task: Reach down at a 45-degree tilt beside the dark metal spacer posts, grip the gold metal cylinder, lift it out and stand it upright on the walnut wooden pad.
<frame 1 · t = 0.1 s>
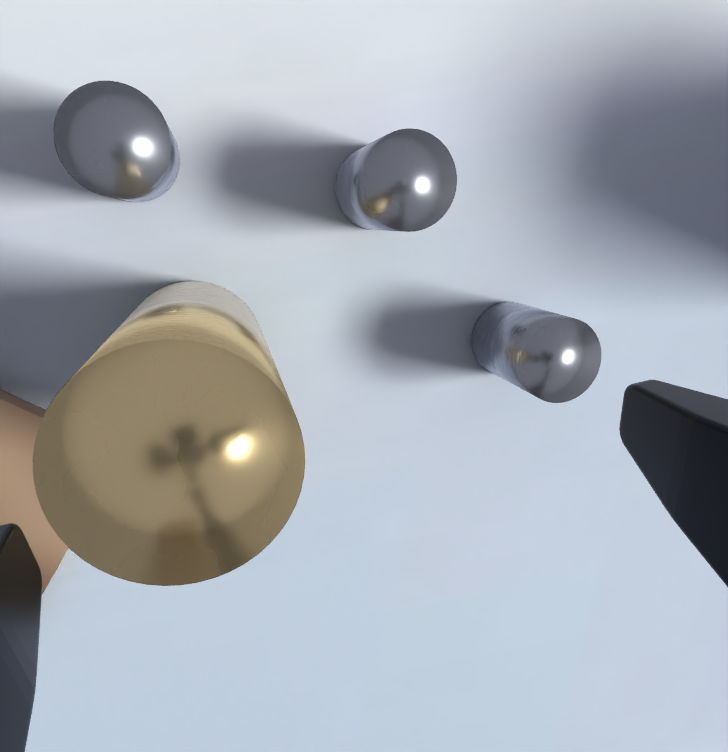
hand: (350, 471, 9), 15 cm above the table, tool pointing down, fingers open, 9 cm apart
gold metal cylinder: (195, 348, 24), on the table
spacer posts: (195, 349, 24), on the table
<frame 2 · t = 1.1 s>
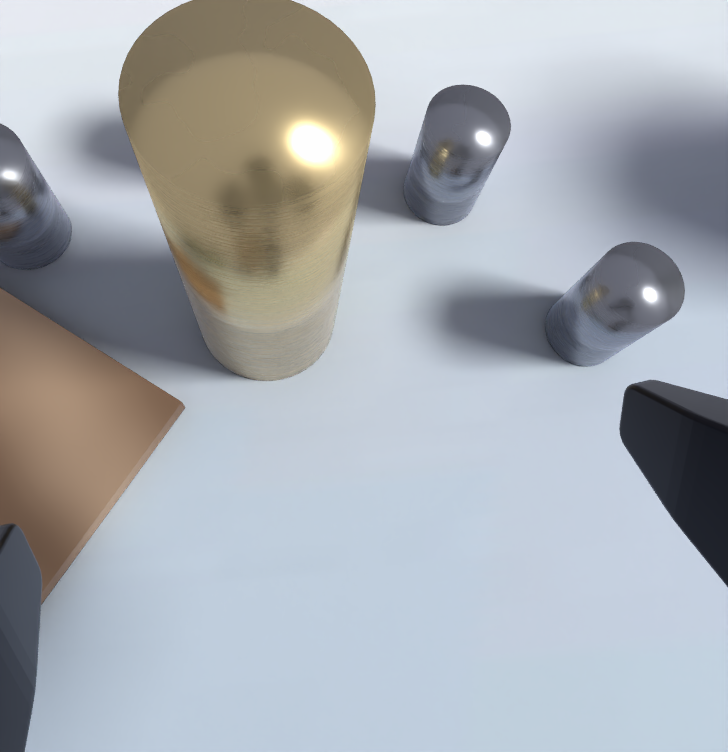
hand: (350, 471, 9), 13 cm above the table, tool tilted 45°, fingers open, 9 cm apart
gold metal cylinder: (267, 317, 24), on the table
spacer posts: (267, 316, 24), on the table
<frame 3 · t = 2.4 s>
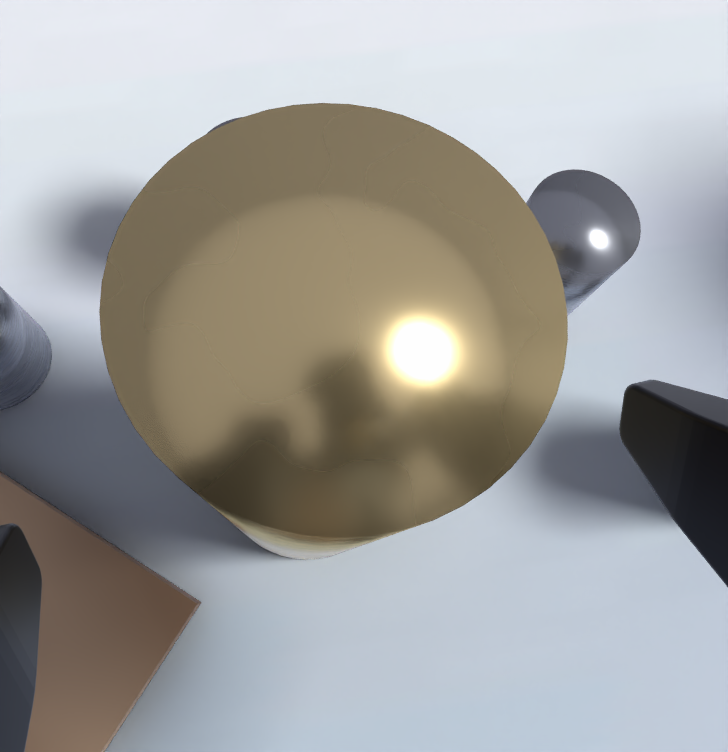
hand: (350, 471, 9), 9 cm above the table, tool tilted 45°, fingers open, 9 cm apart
gold metal cylinder: (309, 468, 18), on the table
spacer posts: (309, 468, 18), on the table
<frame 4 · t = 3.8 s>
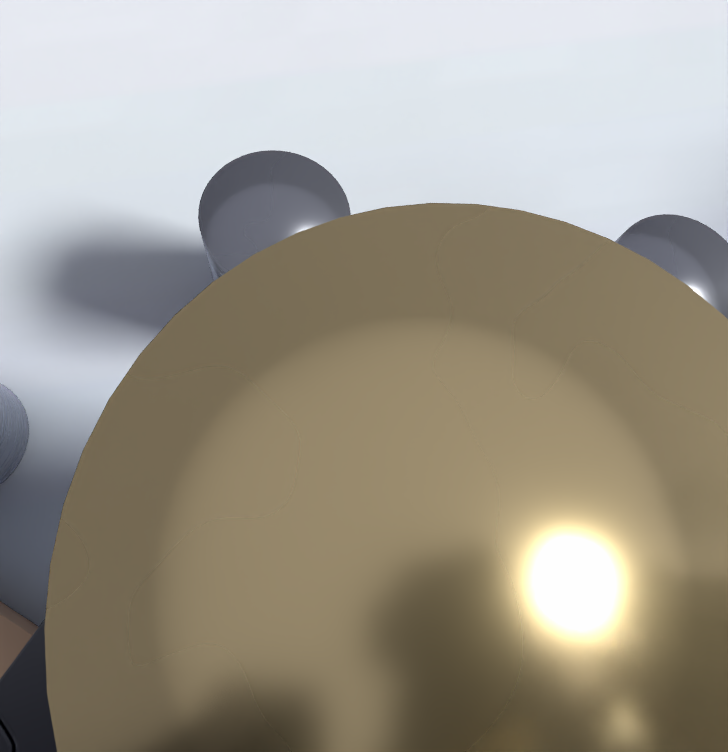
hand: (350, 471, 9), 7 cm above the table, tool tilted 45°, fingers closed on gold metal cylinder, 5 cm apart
gold metal cylinder: (337, 567, 15), on the table, touching gripper
spacer posts: (337, 567, 15), on the table
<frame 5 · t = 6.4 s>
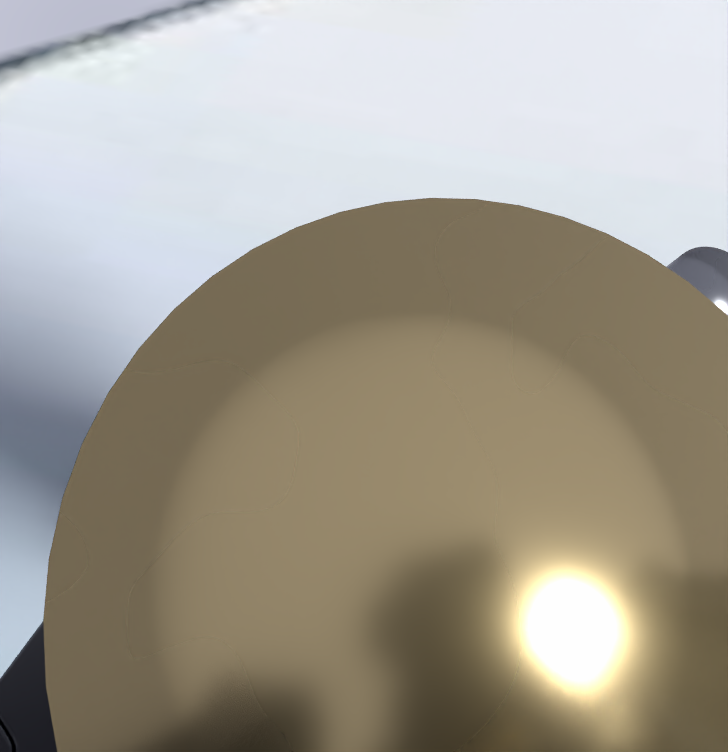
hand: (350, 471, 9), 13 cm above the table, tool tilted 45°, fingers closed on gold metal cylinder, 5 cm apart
gold metal cylinder: (337, 565, 15), point 6 cm above the table, touching gripper
spacer posts: (644, 515, 23), on the table
when the fingers open (8 cm above the table, at t = 8.0 s): gold metal cylinder stays where it is, resting on pad.
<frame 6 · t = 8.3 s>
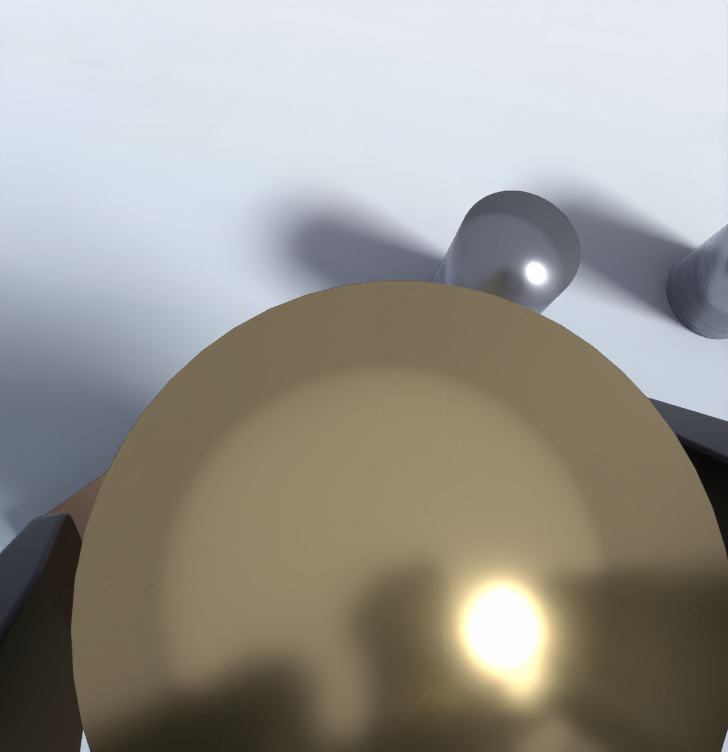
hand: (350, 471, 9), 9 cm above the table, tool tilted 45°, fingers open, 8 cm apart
pad: (332, 566, 17), on the table
gold metal cylinder: (337, 568, 16), point 1 cm above the table, touching pad
spacer posts: (723, 510, 19), on the table
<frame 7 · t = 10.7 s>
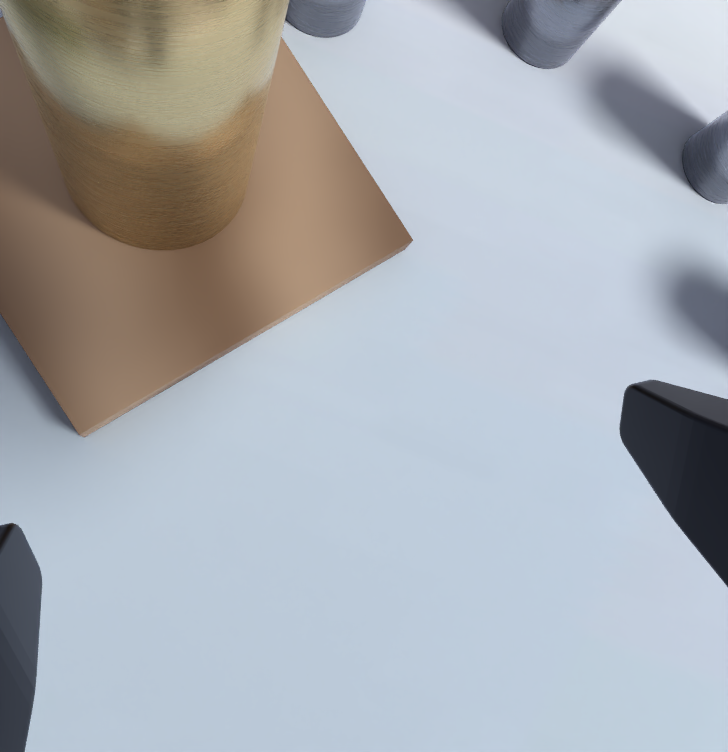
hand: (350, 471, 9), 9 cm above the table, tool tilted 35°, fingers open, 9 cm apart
pad: (157, 177, 19), on the table
gold metal cylinder: (158, 165, 18), point 1 cm above the table, touching pad
spacer posts: (515, 201, 22), on the table
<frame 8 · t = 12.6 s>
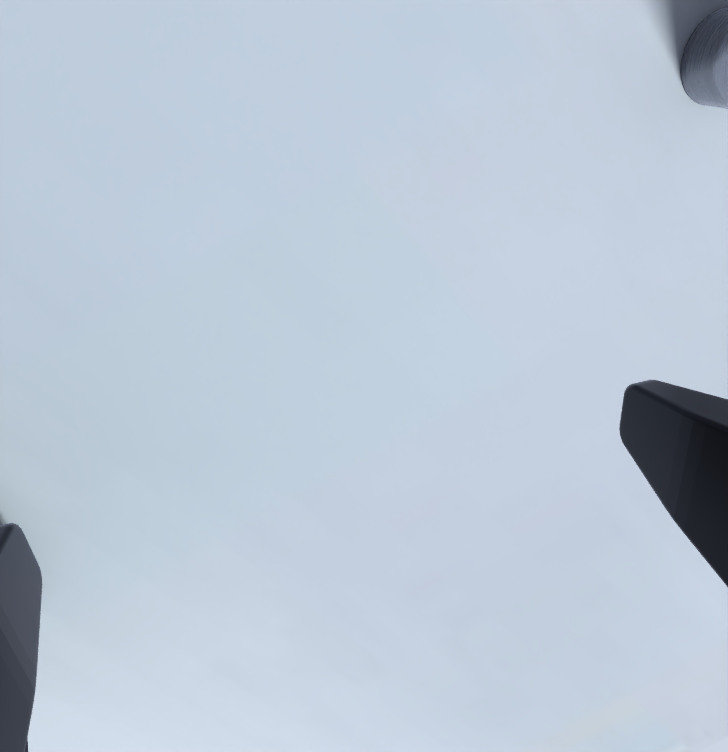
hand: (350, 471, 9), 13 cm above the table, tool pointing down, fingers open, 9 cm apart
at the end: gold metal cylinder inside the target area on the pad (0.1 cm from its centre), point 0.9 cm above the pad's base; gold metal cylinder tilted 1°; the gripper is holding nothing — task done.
